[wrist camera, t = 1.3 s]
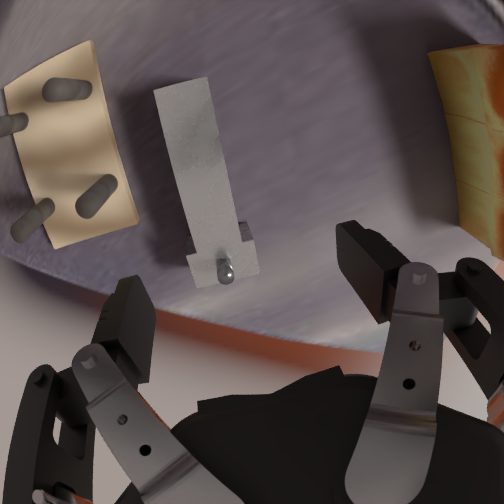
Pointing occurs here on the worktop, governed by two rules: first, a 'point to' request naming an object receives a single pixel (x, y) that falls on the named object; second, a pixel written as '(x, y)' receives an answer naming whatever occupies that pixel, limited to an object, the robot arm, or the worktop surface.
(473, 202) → the bread
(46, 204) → the rack
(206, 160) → the grey pegged bar
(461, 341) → the robot arm
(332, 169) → the worktop surface
